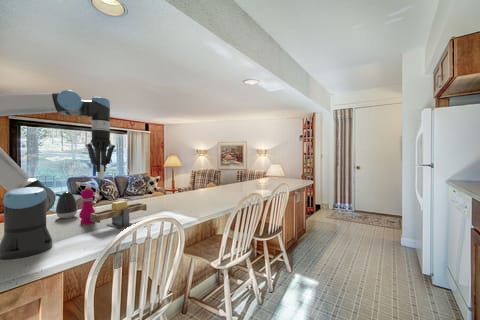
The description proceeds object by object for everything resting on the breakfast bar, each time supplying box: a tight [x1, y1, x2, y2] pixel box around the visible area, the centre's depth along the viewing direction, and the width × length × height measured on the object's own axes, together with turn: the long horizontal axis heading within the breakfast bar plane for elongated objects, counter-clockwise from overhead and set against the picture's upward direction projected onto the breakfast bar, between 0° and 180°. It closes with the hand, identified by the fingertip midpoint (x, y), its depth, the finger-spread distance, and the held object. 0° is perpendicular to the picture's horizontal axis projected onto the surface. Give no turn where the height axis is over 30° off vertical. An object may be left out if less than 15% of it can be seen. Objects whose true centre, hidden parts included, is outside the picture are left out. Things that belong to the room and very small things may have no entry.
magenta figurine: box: [78, 185, 96, 226], centre depth 120 cm, size 7×7×20 cm
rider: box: [111, 200, 128, 211], centre depth 116 cm, size 6×4×4 cm, turn 149°
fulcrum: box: [106, 209, 134, 230], centre depth 117 cm, size 8×12×9 cm, turn 59°
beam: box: [90, 202, 147, 224], centre depth 117 cm, size 26×7×4 cm, turn 149°
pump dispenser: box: [55, 191, 78, 220], centre depth 131 cm, size 10×10×15 cm
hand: (100, 178), depth 108 cm, fingers closed
